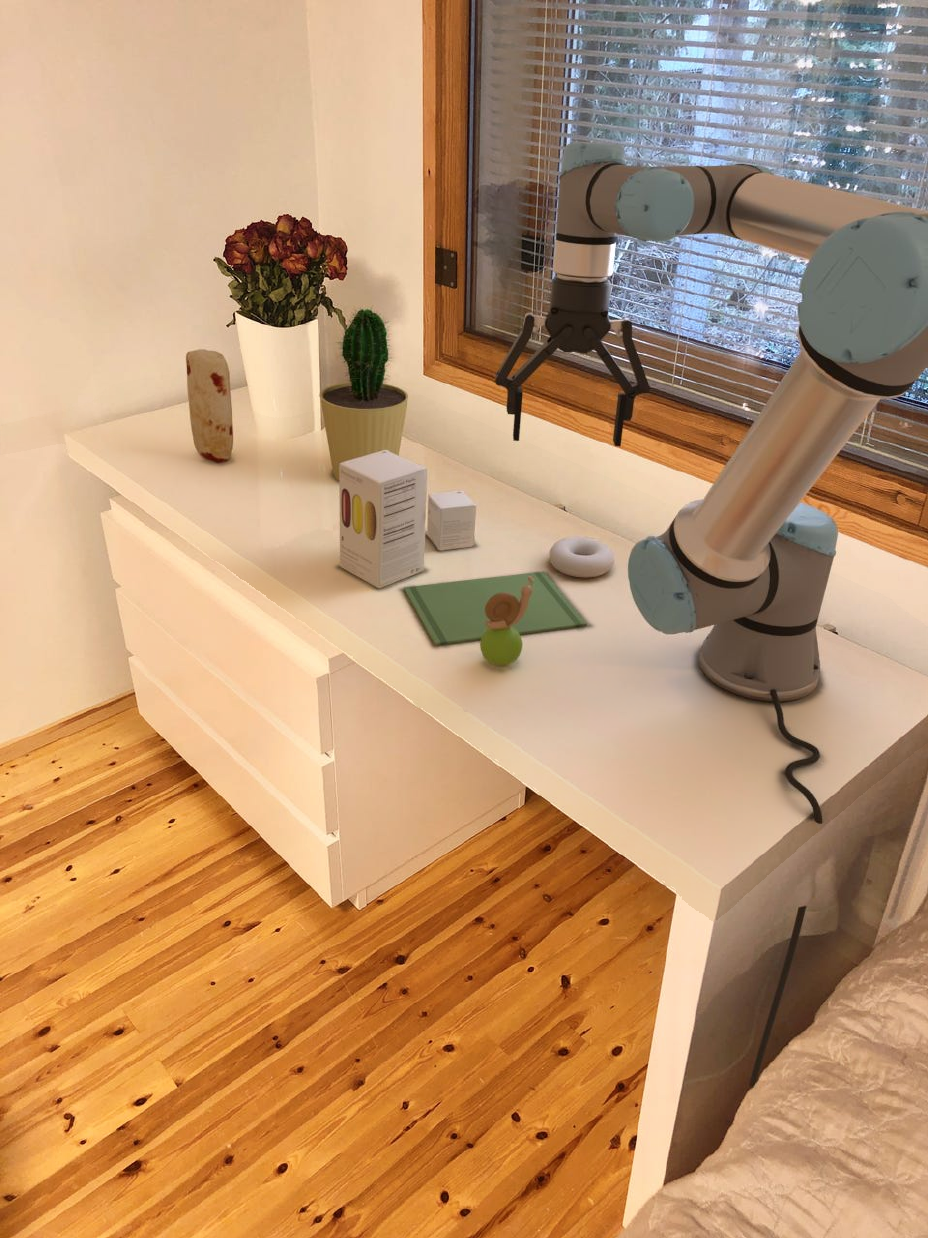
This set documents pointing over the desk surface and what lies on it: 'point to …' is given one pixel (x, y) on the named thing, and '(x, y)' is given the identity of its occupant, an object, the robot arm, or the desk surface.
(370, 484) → the supplement box
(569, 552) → the donut
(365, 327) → the potted cactus
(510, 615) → the snail figurine
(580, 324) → the robot arm
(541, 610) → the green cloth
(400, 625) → the desk surface
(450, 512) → the product box
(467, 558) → the desk surface
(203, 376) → the food model
